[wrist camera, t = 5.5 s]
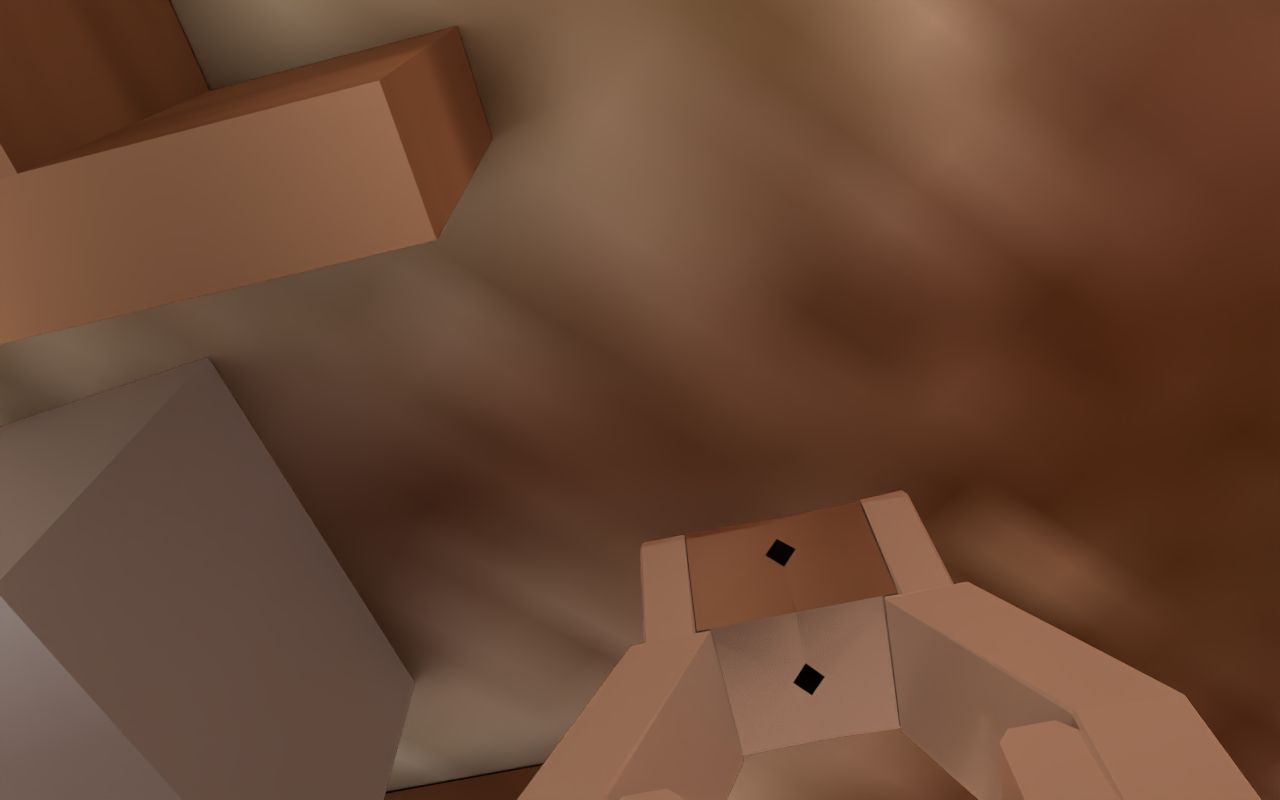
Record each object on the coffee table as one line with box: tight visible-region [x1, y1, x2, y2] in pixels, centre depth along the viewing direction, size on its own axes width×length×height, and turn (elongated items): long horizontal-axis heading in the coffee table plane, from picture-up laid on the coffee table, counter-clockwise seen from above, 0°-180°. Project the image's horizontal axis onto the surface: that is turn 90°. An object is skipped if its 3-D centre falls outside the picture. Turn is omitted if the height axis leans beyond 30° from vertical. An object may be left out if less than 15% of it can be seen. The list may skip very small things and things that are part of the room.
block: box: [0, 357, 415, 800], centre depth 11 cm, size 6×6×4 cm
